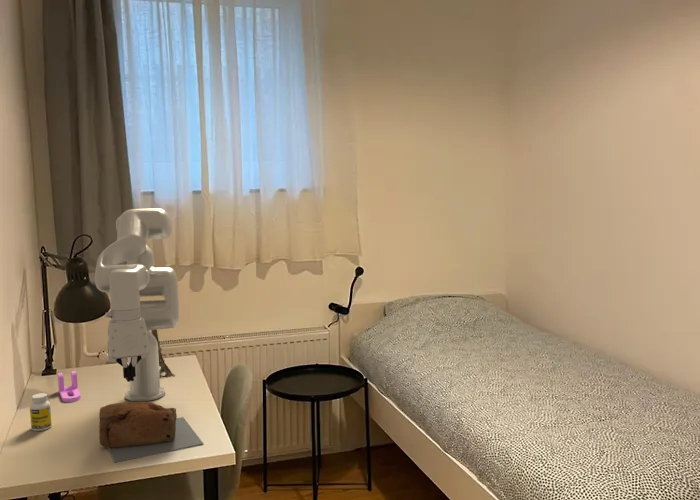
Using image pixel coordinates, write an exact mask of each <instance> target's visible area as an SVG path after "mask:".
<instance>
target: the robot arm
mask: <svg viewBox="0 0 700 500" xmlns="http://www.w3.org/2000/svg"><path fill="white" fill-rule="evenodd" d="M172 227H173V225H172V220H171V217H170V215H169V214H168V212H167V210H164V209H163V208H158V207H157V208H155V207H154V208H132V209H127V210H125V211H124V212H122V213H121V215H120V216H118V217H117V219H116V221H115V228H116V233H117V236H116V241H114V242H112V243H111V244H109V245H108V246H107V247H106V248H104V249H103V251H102V252H100V253H99V255H98V257H97V262H96V265H95V266H96V267H95V271H94V272H95V274H94V282H95V283H94V284H95V286H96V289H97V290H99V291H100V292H102V293H109V299H110V310H109V311H108V312H105V318H110V320H109V321H108V328H107V351H108V356H107V361H108V362H109V363H118V365H120V366H121V367H122V373H123V379H125V380H126V381H127V383H129V390H127V391H126V392H125V395H124V398H125V399H126V400H128V401H129V402H151V401H154V400H157V399H159V398H162V397H163V396H165V395H166V389H165V387H162V386H161V380H160V379H161V377H160V376H161V375H160V366H159V356H158V343H157V340H156V338H155V337H154V336H153V334H152V333H151V331H152V330H157V331H158V330H168V329H174V328H176V327H177V326H178V324H179V319H180V311H179V310H180V308H179V307H180V305H179V285H178V283H179V282H178V276H177V272H176V271H175V270H174V268H172V267H167V266H164V267H163V266H162V267H161V266H159V267H155V265H154V259H155V258H154V252H153V250H152V249H151V248H150V247H149V245H148V244H147V242H148V241H147V240H162V239H163V240H165V239H168V238H170V236H171V233H172ZM123 263H124V264H123ZM125 263H126V264H125ZM147 297H148V298H151V297H161V298H163V299H160V300H159V299H154V300H140V298H147ZM127 360H128V362H127Z"/></svg>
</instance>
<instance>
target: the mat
mask: <svg viewBox="0 0 700 500" xmlns="http://www.w3.org/2000/svg"><path fill="white" fill-rule="evenodd" d="M203 445H204V442H203V441H202V440H201V438H200V437H199V436H198V434H197V433H196V432H195V430H194V429H193V428H192V427H191V425H190V424H189V422H188V421H187V420H186V419H185V418H184V416H181V417H177V418H176V432H175V439H174V440H173V441H170V442H166V441H163V442H161V443H156V444H148V445H137V446H136V445H132V446H128V447H107V448H108V450H109V453H110V456H111V457H112V460H113V462H114V463H115V464H117V463H121V462H127V461H131V460H136V459H141V458H145V457H151V456H156V455H160V454H164V453H165V454H166V453H169V452H173V451H179V450H184V449H188V448H193V447H197V446H198V447H199V446H203Z"/></svg>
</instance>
